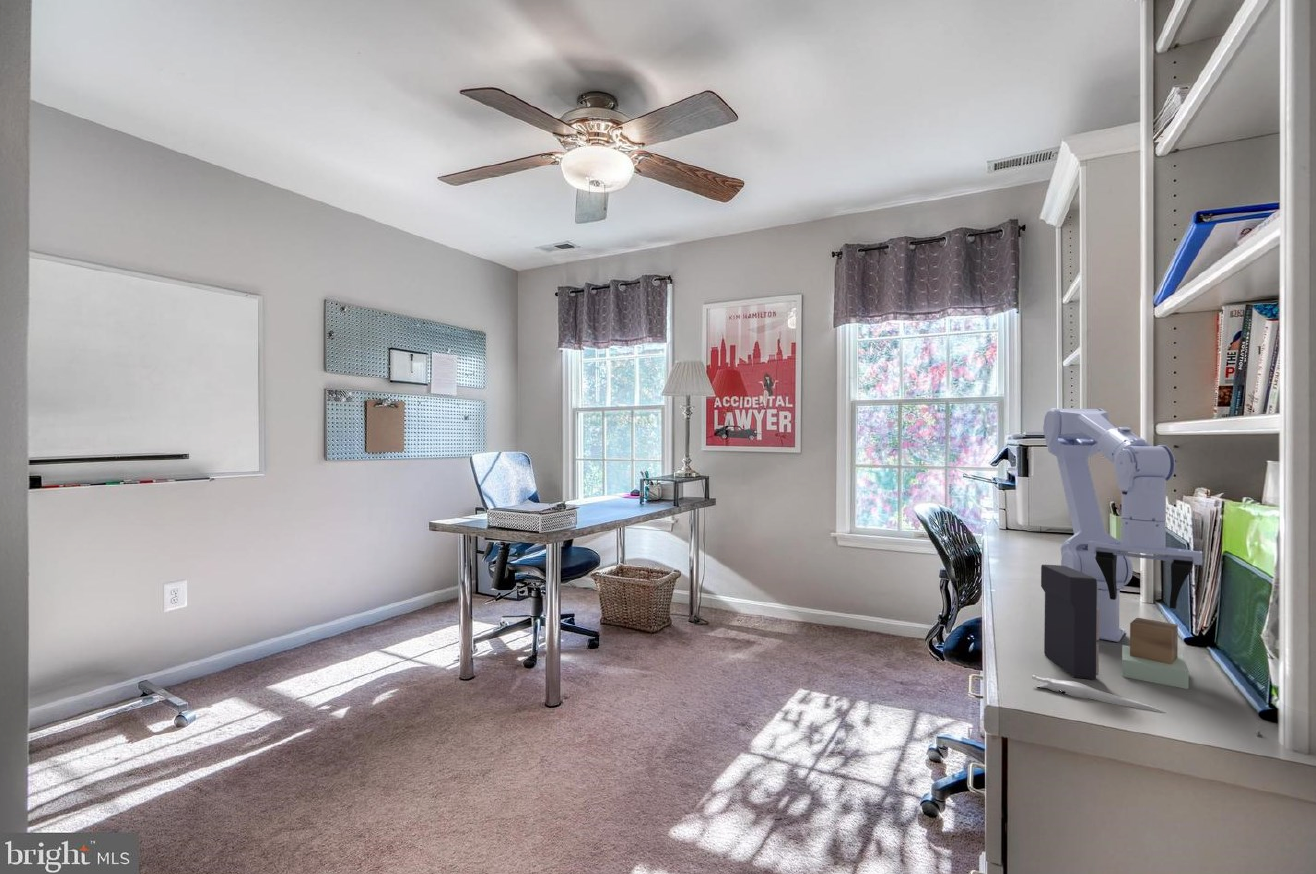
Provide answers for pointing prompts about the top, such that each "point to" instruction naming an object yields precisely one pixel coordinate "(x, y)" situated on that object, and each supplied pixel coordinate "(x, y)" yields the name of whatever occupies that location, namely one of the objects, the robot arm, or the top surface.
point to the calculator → (1071, 620)
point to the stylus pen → (1089, 693)
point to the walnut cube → (1154, 640)
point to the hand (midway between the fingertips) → (1142, 603)
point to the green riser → (1155, 670)
